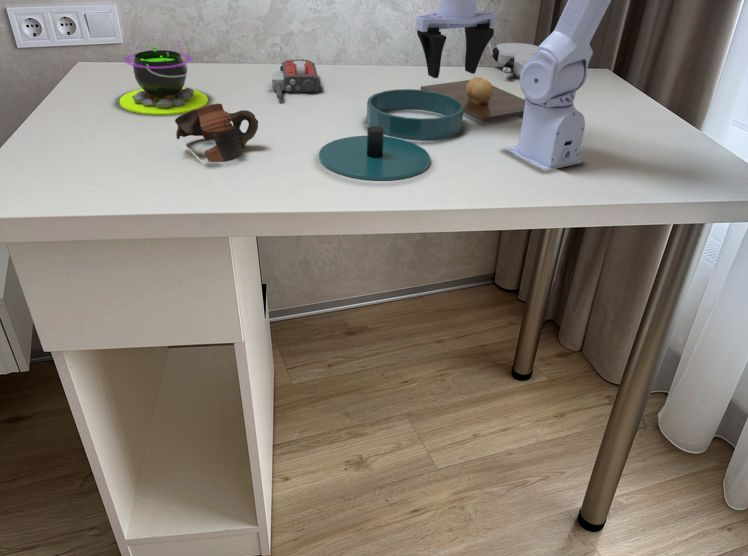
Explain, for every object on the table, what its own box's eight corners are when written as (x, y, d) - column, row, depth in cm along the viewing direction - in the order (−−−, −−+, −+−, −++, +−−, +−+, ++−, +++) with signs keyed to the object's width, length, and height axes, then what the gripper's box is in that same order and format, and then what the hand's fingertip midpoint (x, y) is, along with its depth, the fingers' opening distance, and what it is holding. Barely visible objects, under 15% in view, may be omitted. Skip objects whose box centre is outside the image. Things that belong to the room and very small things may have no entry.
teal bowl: (479, 135, 118) (482, 111, 116) (399, 149, 110) (401, 124, 108) (426, 106, 129) (428, 85, 126) (350, 118, 121) (350, 95, 119)
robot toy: (555, 86, 147) (538, 62, 158) (560, 64, 144) (542, 41, 155) (499, 85, 146) (485, 60, 157) (502, 63, 143) (488, 39, 154)
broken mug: (192, 173, 100) (167, 116, 97) (193, 177, 108) (170, 125, 106) (270, 145, 102) (248, 88, 100) (265, 151, 111) (244, 100, 109)
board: (542, 114, 129) (543, 107, 128) (483, 124, 122) (484, 117, 122) (476, 84, 142) (477, 78, 141) (420, 92, 136) (420, 86, 135)
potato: (496, 104, 128) (499, 81, 126) (478, 106, 127) (481, 84, 124) (477, 95, 132) (480, 73, 130) (460, 97, 130) (463, 75, 128)
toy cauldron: (187, 119, 116) (179, 49, 110) (103, 109, 118) (89, 40, 111) (220, 93, 128) (214, 29, 122) (143, 84, 130) (133, 21, 123)
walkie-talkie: (271, 74, 140) (273, 105, 124) (269, 50, 137) (272, 80, 122) (314, 74, 142) (323, 105, 126) (314, 51, 139) (322, 80, 123)
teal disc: (451, 172, 104) (454, 139, 101) (353, 192, 96) (354, 157, 93) (392, 136, 115) (393, 105, 112) (300, 151, 107) (298, 118, 104)
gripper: (481, -22, 114) (472, 64, 123) (407, -19, 108) (402, 72, 116) (508, -15, 110) (497, 74, 118) (432, -11, 103) (426, 83, 111)
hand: (451, 74), depth 117 cm, fingers open, 7 cm apart
